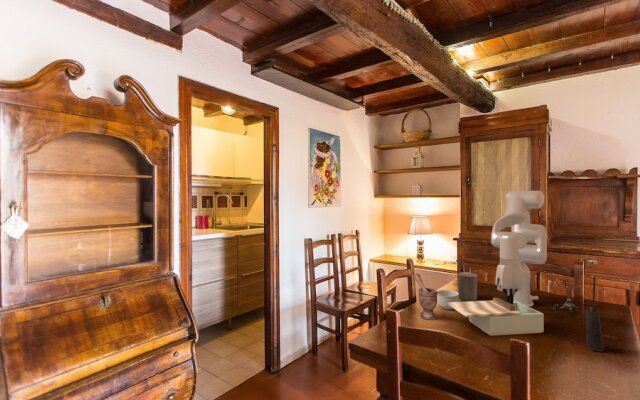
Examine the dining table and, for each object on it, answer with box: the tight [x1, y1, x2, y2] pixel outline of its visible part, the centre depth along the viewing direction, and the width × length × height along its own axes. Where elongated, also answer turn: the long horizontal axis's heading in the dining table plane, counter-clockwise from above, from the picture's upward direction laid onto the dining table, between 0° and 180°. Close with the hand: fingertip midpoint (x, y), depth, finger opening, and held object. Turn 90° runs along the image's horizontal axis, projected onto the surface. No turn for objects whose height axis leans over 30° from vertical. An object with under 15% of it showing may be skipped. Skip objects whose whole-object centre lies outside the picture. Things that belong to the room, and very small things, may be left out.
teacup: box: [437, 288, 460, 311], centre depth 175 cm, size 14×11×8 cm
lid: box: [447, 297, 521, 318], centre depth 148 cm, size 24×16×3 cm, turn 96°
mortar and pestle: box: [413, 273, 438, 321], centre depth 161 cm, size 12×9×20 cm
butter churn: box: [585, 275, 605, 350], centre depth 128 cm, size 9×10×28 cm
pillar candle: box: [457, 271, 478, 302], centre depth 188 cm, size 10×10×15 cm
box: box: [468, 302, 545, 337], centre depth 149 cm, size 24×16×8 cm, turn 96°
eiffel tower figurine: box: [552, 283, 578, 310], centre depth 171 cm, size 15×10×13 cm
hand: (509, 303), depth 149 cm, fingers closed
